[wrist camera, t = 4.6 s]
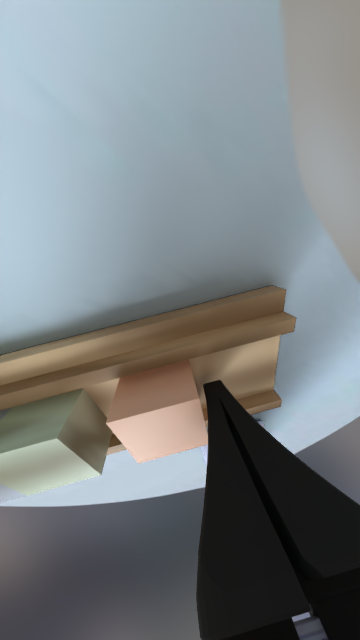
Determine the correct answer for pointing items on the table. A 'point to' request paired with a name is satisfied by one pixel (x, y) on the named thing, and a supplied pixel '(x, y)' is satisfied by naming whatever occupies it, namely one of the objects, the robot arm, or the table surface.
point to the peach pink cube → (158, 412)
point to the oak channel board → (119, 361)
